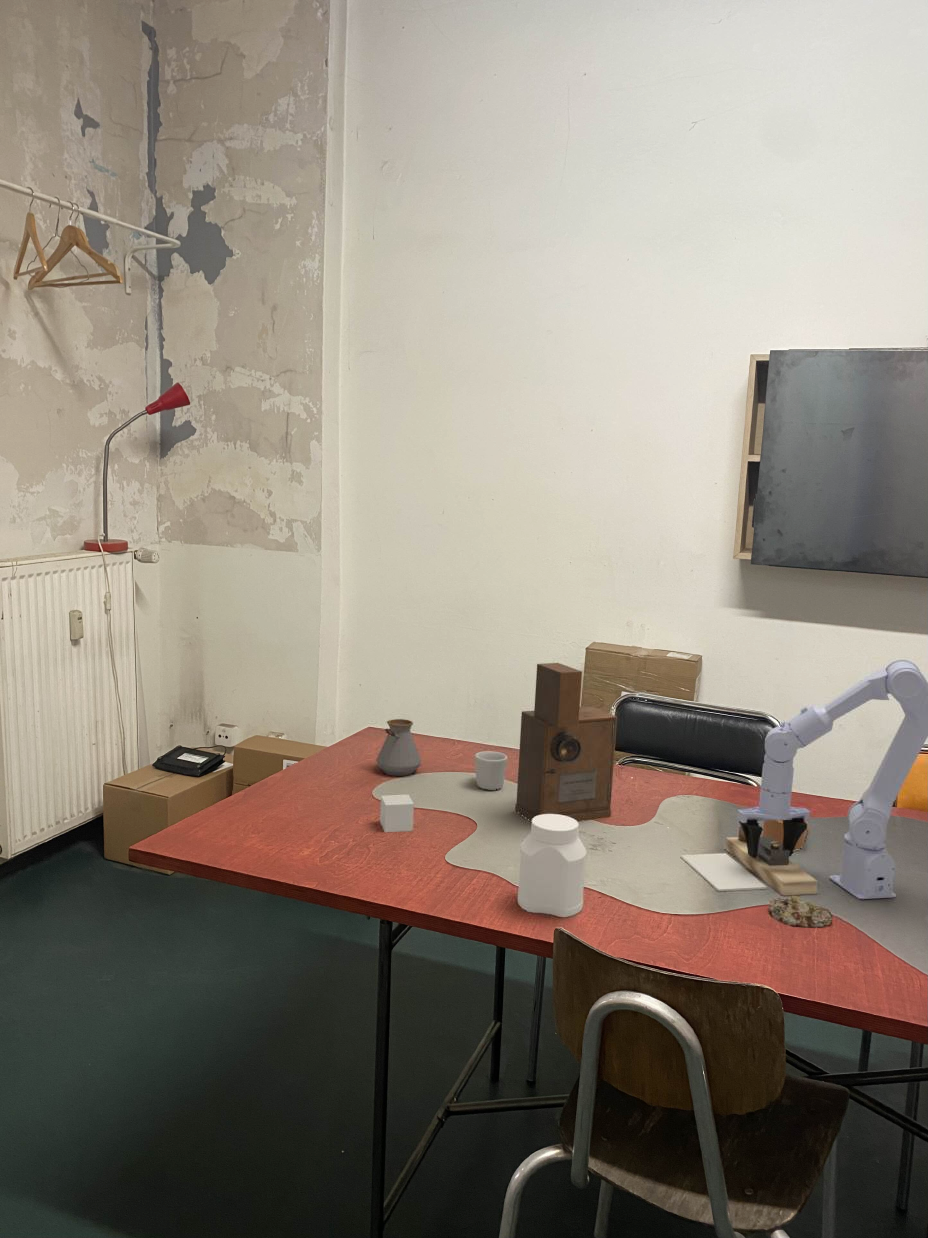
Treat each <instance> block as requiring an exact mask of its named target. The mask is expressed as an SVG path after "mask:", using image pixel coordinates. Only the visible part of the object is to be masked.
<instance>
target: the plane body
mask: <svg viewBox="0 0 928 1238" xmlns="http://www.w3.org/2000/svg"><path fill="white" fill-rule="evenodd" d="M724 845H725V846H724V849H726V850H725V851H727V852H728V853H729V852H730V853H731V856H733V857H734V856H735V857H734V858H735V859H737V860H738V861H739V862H740V863H741V864H743V865H744V866H745V867H747V868H748V869H749V870H750V871H751V872H753V873H754V874H755V875H756V876H758V877H759V878H760V879H762V880H763V881H764V882H765V883H766V884H767V885H769V886H770V887H772V888H773V889H774V890H775V891H777V893H779V894H780V895H781V896H784V897H785V896H800V895H802V896H803V895H816V894H817V893H818V882H819V881H818V880H817V879H815V877H813V876H812V875H810V874H809V873H807V872H806V871H805V870H803V869H802V868H801V867H799V866H798V865H797V864H795V863H793V862H792V860H790V859H789V863H788V865H778V866H769V865H768V864H767V863H765V862H764V861H763V860H761V859H760V858H759V857H756V858H752V857H751V856H750V855H748V849H747V843H746V839H745V835H744V832H743V829H742V827H741V826H739V829H738V836H736V837H725V843H724ZM730 853H729V854H730Z"/></svg>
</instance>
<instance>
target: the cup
mask: <svg viewBox="0 0 928 1238" xmlns="http://www.w3.org/2000/svg"><path fill="white" fill-rule="evenodd" d="M508 758H509V757H508V756H507V754H505V753H503V752H498V751H490V750H487V751H486V750H484V751H479V752H477V753H475V755H474V761H475V763H474V764H475V765H474V766H475V780H476V782H475V783H476V785H477V787H478V788H479V789H483V790H486V789H487V791H497V790H500V789H502V788H503V786H504V784H505V777H506V771H507V765H508ZM496 789H497V790H496Z"/></svg>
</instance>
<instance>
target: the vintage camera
mask: <svg viewBox="0 0 928 1238" xmlns="http://www.w3.org/2000/svg"><path fill="white" fill-rule="evenodd" d="M535 677H536V678H535V694H534V707H533V708H534V710H526V711H525V710H523V711H521V717H520V720H521V721H520V735H519V736H520V737H519V753H518V754H519V755H518V768H517V769H518V771H517V789H516V802H515V805H514V806H515V807H514V808H515V809H514V811H515V810H516V811H517V812H519V813H520V814H521V815H523V816H524V817H526V818H527V819H529V820H530V821H532V819H533V818H534V817H535V816H538V815H542V814H559V815H564V816H568V817H571V818H573V819H575V820H576V821H578V822H583V820H584V821H585V822H586V821H591V820H598V819H604V818H605V819H606V818H611V817H612V809H611V807H612V806H611V804H612V793H613V792H612V791H613V777H614V765H615V753H616V751H615V750H616V735H617V723H618V716H617V715H614V714H611V713H609V712H606V711H604V710H602V709H599V708H597V707H594V706H592V705H591V706H590V705H589V706H581V695H582V680H583V679H582V678H583V671H582V670H579V669H576V668H574V667H571V666H568V665H565V664H562V663H560V662H545V663H536V676H535ZM517 812H516V813H517ZM520 814H519V815H520ZM521 815H520V816H521ZM523 816H522V817H523ZM524 817H523V818H524ZM526 818H525V819H526ZM527 819H526V820H527ZM530 821H529V822H530Z"/></svg>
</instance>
